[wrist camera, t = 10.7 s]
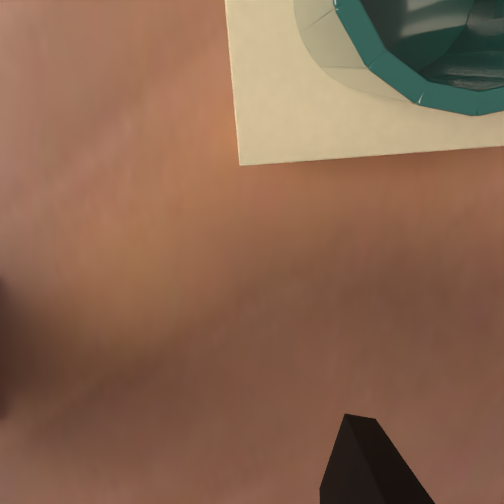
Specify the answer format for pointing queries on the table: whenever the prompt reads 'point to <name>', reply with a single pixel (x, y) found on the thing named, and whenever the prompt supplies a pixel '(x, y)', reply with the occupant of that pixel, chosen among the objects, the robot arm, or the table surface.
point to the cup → (411, 49)
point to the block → (324, 101)
